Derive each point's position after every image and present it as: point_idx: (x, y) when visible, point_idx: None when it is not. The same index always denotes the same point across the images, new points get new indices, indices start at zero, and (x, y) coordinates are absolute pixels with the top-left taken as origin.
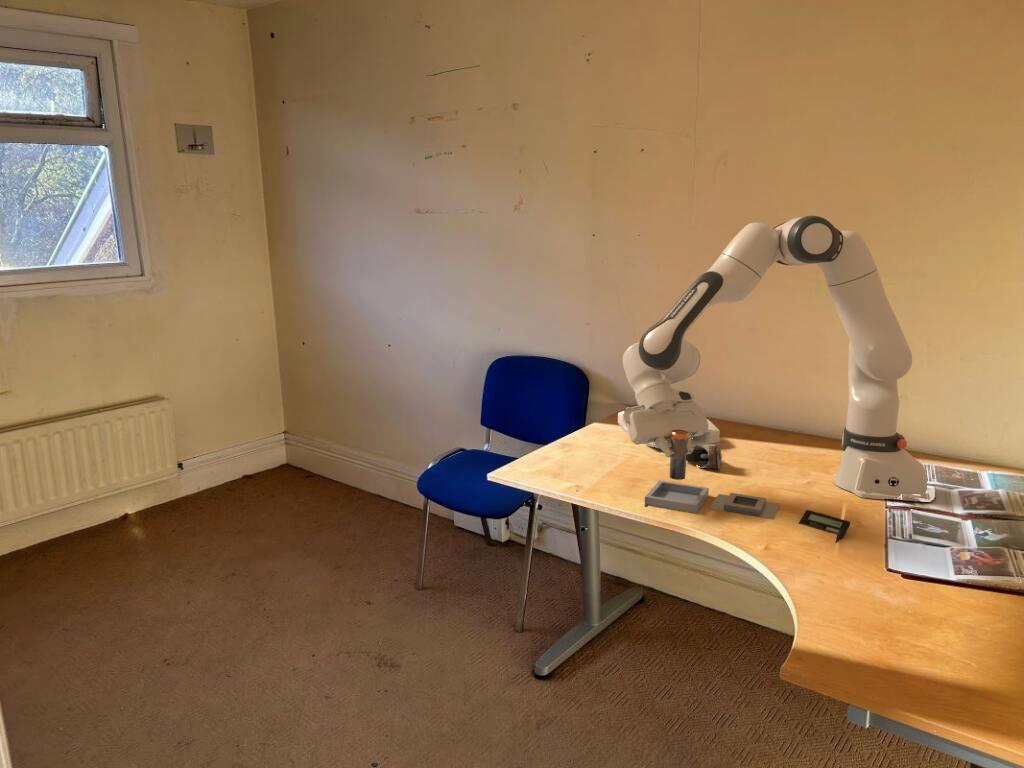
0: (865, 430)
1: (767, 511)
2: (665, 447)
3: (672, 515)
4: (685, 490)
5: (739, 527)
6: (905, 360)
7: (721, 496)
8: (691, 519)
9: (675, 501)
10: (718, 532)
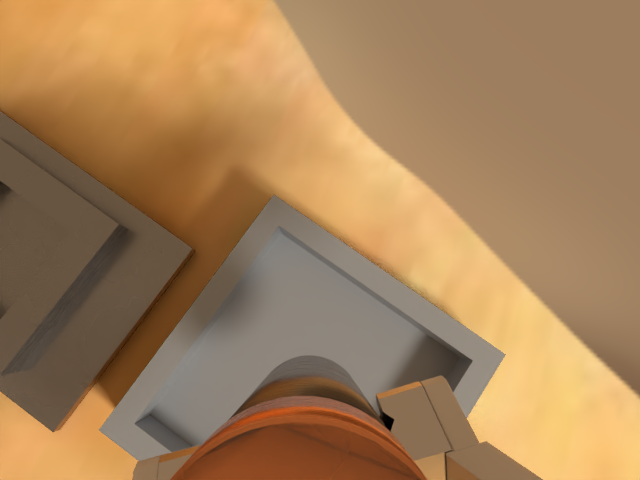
0: None
1: None
2: (496, 457)
3: (382, 230)
4: None
5: (147, 66)
6: None
7: (56, 394)
8: (314, 174)
9: (363, 260)
10: (255, 37)
